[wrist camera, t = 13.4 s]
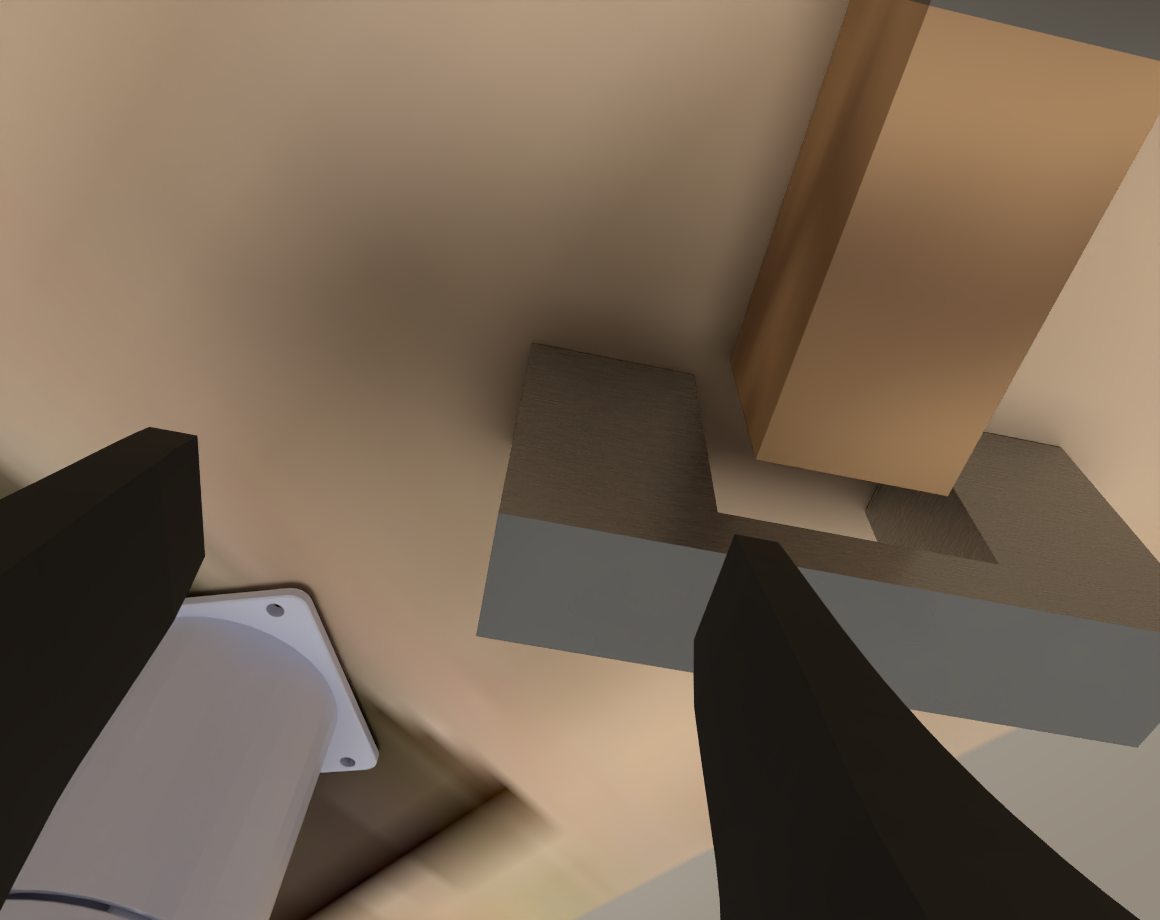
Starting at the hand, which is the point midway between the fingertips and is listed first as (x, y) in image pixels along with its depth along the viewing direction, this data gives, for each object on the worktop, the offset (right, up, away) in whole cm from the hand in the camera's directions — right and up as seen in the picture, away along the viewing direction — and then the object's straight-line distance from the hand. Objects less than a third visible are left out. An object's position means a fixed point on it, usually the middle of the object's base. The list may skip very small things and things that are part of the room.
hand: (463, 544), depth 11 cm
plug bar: (+8, +8, +6) cm, 13 cm away
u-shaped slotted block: (+7, +2, +10) cm, 12 cm away
